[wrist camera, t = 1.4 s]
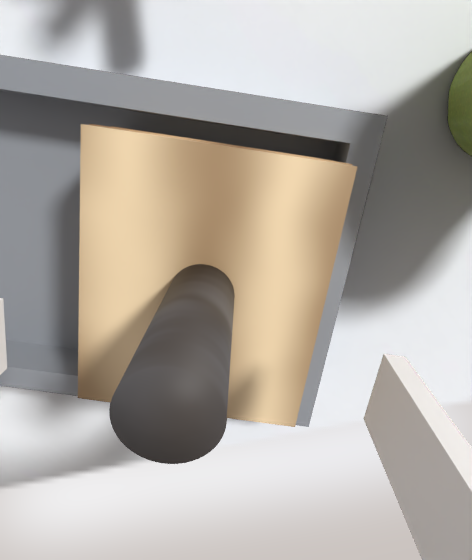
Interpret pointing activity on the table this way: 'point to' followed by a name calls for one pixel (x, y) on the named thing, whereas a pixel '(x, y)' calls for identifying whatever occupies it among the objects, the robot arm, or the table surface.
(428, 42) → the table surface
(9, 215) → the bay
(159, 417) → the wooden block with peg
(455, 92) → the plant pot
